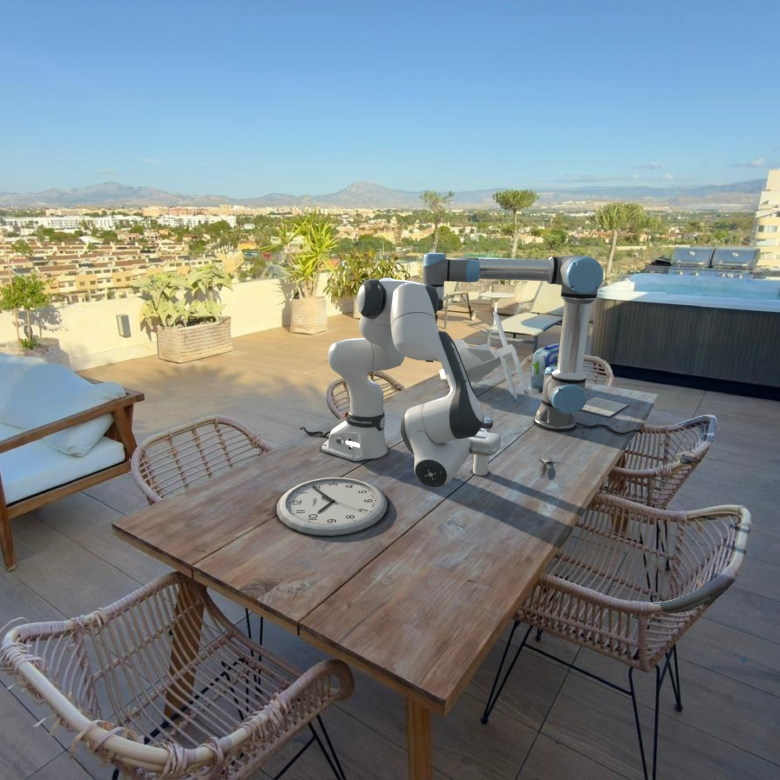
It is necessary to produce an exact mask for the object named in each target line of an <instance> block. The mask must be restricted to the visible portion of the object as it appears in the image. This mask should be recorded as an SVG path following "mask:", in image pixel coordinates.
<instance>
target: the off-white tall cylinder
mask: <svg viewBox="0 0 780 780" xmlns="http://www.w3.org/2000/svg"><path fill="white" fill-rule="evenodd" d="M479 431H480V430H479ZM487 432H488V433H492V428H490V429H487ZM489 459H490V456H480V455H474V454H473V464H472V465H473V466H472V474H474V475H476V476H487V475H488V473H489V464H490V463H489V462H490V461H489Z"/></svg>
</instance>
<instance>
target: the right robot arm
mask: <svg viewBox="0 0 780 780" xmlns="http://www.w3.org/2000/svg"><path fill="white" fill-rule="evenodd" d="M422 264H423V265H422V283H425V284H428V285H431V286H433V287H434V288H435V289H436V291H437V293H438V296H439V306H438V311H437V312H439V311H442V310H444V299H443V298H444V297H445V282H447V283H449V282H452V283H453V282H457V283H468V284H470V283H477V282H479V281H480V280H495V281H497V280H499V281H500V280H501V281H526V282H527V281H531V282H546V283H547V284H548V285H557V286H561V289H560V298H561V299H562V300H563V303H564V305H563V313H562V322H561V330H560V339H559V344H560V346H559V355H558V364H557V366H553V367H547V368H546V369H545V373H544V382H543V390H542V394H541V402H540V405H539V407H538V409H537V411H536V413H535V416H534V424H535V425H536V426H537V427H539V428H542V429H544V430H549V431H556V432H567V431H572V430H574V429H575V428H576V425H577V426H581V427H584V428H588V429H589V428H590V429H591V428H595V427H603V428H606V429H608V430H609V431H611V433H614V434H617V435H628V434H631V433H634V432H637V433H638V434H640V435H643V434H644V433H643V431H642V430H640V429H636V428H635V429H631V430H628V431H617V430H615V429H613V428H612V427H611V426H609V425H607V424H603V423H596V424H592V425H591V424H590V425H589V424H585V423H582V422H577V421H576V418H575V417H576V416H575V414H576V413H579V412H580V411H582V410H581V409H582V408H583V407H584V406H585V404H586V401H588V397H587V392H586V389H585V388H586V383H587V382H586V381H587V375H586V374H585V373H584V371H583V369H584V361H585V355H586V347H587V339H588V338H587V337H588V330H589V324H590V318H591V317H590V316H591V308H592V303H593V302H594V301H596V300H597V298H598V294H599V293H598V291H599V288H601V285H602V284H603V281H604V269H603V267H602V265H601V264H600V262H599V261H597V260H596V259H595V258H594V257H592V256H587V255H581V254H574V255H573V254H572V255H565V256H551V257H549V258H548V259H545V258H544V259H543V258H542V259H541V258H540V259H539V258H501V257H500V258H497V257H496V258H495V257H494V258H492V257H466V256H460V257H457V258H455V259H451V258H449V259H448V258H447V257H446V253H444V252H427V253H425V254H424V255H423V263H422ZM438 318H439V315H438V313H437V314H436V316H435V319H436V324H438ZM425 362H426V363H434V361H425Z"/></svg>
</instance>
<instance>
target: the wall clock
mask: <svg viewBox="0 0 780 780" xmlns="http://www.w3.org/2000/svg"><path fill="white" fill-rule="evenodd" d="M387 509H388V500H387V498H386V496H385V494H384V493H383V492H382V491H381V490H380V489H379V488H377V487H376V486H374V485H372V484H371V483H369V482H365V481H362V480H359V479H355V478H349V477H338V476H337V477H335V476H333V477H332V476H331V477H322V478H317V479H312V480H307V481H305V482H302V483H299V484H297V485H295V486H293V487H292V488H290V489H288V490H287V491H286V492H285V493H284V494H283V495H281V496H280V498H279V499H278V502H277V503H276V515H277V517H278V518H279V520H280V521H281V522H282V523H283V524H285V525H286V526H287V527H288V528H290V529H293V530H295V531H297V532H299V533H303V534H308V535H312V536H327V537H328V536H329V537H331V536H332V537H333V536H342V535H350V534H352V533H356V532H361V531H363V530H366V529H368V528H369V527H372V526H373V525H375V524H376V523H378V522H379V521H380V520H381V519H382V518H383V517H384V516H385V514H386V512H387Z"/></svg>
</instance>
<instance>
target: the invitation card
mask: <svg viewBox="0 0 780 780" xmlns="http://www.w3.org/2000/svg"><path fill="white" fill-rule="evenodd" d="M628 406H629V404H627V403H623V402H618V401H614V400H609V399H605V398H601V397H596V396H593V397H592V398H590V399H587V401H586V404H585V406H584V407H583V408H582V409H581V410H580V411H584V412H587V413H593V414H596V415H600V416H604V417H608V418H609V417H611V416H613V415H614V414H616V413H617V412H619V411H621V410H623V409H624V408H626V407H628Z"/></svg>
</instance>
